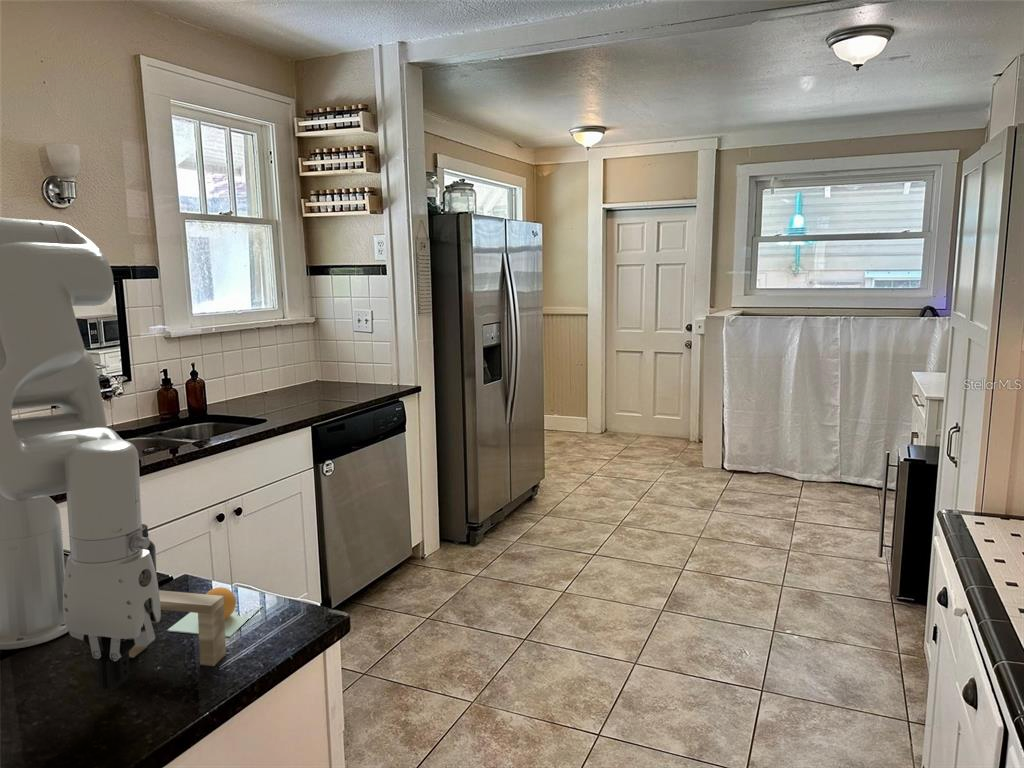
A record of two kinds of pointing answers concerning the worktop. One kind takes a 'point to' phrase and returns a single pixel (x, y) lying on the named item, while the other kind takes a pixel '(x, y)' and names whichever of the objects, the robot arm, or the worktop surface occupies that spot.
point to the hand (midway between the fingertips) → (115, 683)
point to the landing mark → (191, 626)
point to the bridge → (199, 622)
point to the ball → (225, 599)
